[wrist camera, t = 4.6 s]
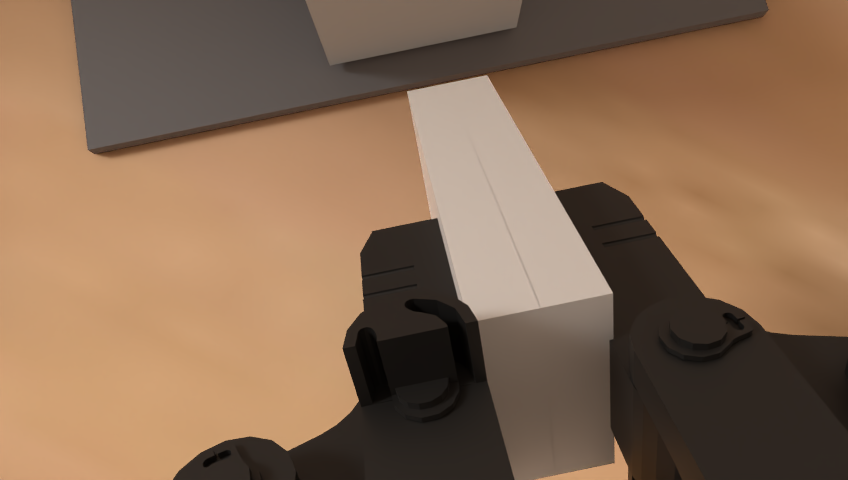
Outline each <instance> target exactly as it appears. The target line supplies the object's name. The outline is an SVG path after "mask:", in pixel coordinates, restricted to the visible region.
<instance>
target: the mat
mask: <svg viewBox="0 0 848 480" xmlns="http://www.w3.org/2000/svg"><path fill="white" fill-rule="evenodd" d="M71 4H72V13H73V22H74V31H75V40H76V49H77V58H78V67H79V75H80V84H81V93H82V102H83V111H84V120H85V129H86V138H87V147H88V150H89V151H90V152H92V153H94V154H97V153H101V152H106V151H111V150H116V149H121V148H126V147H131V146H135V145H140V144H145V143H150V142H155V141H160V140H165V139H169V138H174V137H179V136H184V135H189V134H194V133H199V132H203V131H208V130H213V129H218V128H223V127H228V126H233V125H238V124H242V123H247V122H252V121H257V120H262V119H267V118H272V117H276V116H281V115H286V114H291V113H296V112H301V111H306V110H310V109H315V108H320V107H325V106H330V105H335V104H340V103H345V102H349V101H354V100H359V99H364V98H369V97H374V96H379V95H383V94H388V93H393V92H398V91H403V90H408V89H413V88H417V87H422V86H427V85H432V84H437V83H442V82H447V81H452V80H456V79H461V78H466V77H471V76H476V75H481V74H486V73H490V72H495V71H500V70H505V69H510V68H515V67H520V66H524V65H529V64H534V63H539V62H544V61H549V60H554V59H558V58H563V57H568V56H573V55H578V54H583V53H588V52H593V51H597V50H602V49H607V48H612V47H617V46H622V45H627V44H631V43H636V42H641V41H646V40H651V39H656V38H661V37H665V36H670V35H675V34H680V33H685V32H690V31H695V30H700V29H704V28H709V27H714V26H719V25H724V24H729V23H734V22H738V21H743V20H748V19H753V18H758V17H763V16H764V15H765V14H766V12H767V11H768V10H769V9H768V6H767V3H766V0H522V4H521V9H520V14H519V18H518V23H517V27H516V28H511V29H506V30H501V31H496V32H492V33H487V34H482V35H477V36H472V37H467V38H462V39H457V40H453V41H448V42H443V43H438V44H433V45H428V46H423V47H418V48H414V49H409V50H404V51H399V52H394V53H389V54H384V55H379V56H374V57H370V58H365V59H360V60H355V61H350V62H345V63H340V64H335V65H331V66H330V64H329V62H328V59H327V56H326V54H325V51H324V48H323V46H322V43H321V41H320V38H319V35H318V33H317V30H316V27H315V25H314V22H313V19H312V17H311V14H310V11H309V9H308V6H307V3H306V1H305V0H71Z"/></svg>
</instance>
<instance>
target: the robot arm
mask: <svg viewBox="0 0 848 480" xmlns="http://www.w3.org/2000/svg"><path fill="white" fill-rule="evenodd" d="M407 93H408V99H409V104H410V109H411V114H412V120H413V125H414V130H415V136H416V141H417V146H418V152H419V157H420V162H421V167H422V173H423V178H424V183H425V189H426V194H427V199H428V205H429V210H430V215H431V219H430V220H425V221H420V222H415V223H411V224H406V225H401V226H396V227H391V228H386V229H381V230H376V231H372V233H371V235H370V237H369V239H368V240H367V242H366V244H365V246H364V248H363V249H362V251H361V253H360V256H361V272H362V279H363V280H362V287H363V297H364V300H363V303H364V312H362V313H361V314H360V315H359V316H358V317H357V318H356V320H355V321H354V322H353V323H352V325H351V326H350V327H349V328H348V330H347V333H346V337H345V341H344V345H343V352H344V355H345V358H346V361H347V364H348V367H349V371H350V374H351V377H352V380H353V383H354V386H355V389H356V392H357V396H358V399H359V402H358V403H357V405H356V406H355V407H354V409H353V410H352V411H351V413H350V414H348V415H347V416H346V417H345V418H344V419H343V420H342V421H341V422H340V423H338V424H337V425H336V426H334V427H333V428H331V429H329V430H328V431H326V432H324V433H323V434H321V435H319V436H317V437H315V438H313V439H311V440H309V441H307V442H305V443H303V444H301V445H299V446H297V447H295V448H293V449H291V450H289V451H286V450H285V449H283V448H282V447H280V446H279V445H278V444H276V443H275V442H274V441H272V440H267V439H261V438H256V437H245V438H239V439H233V440H228V441H224V442H222V443H220V444H218V445H216V446H214V447H212V448H210V449H207V450H205V451H203V452H201V453H200V454H199V455H197V456H196V457H195V458H194V459H193V460H191V461H190V462H189V463H188V464H187V465H185V466H184V467H183V468H182V469H181V470H179V472H178V473H177V474H176V476H175V477H174V479H173V480H534V479H539V478H543V477H548V476H553V475H558V474H563V473H568V472H573V471H577V470H582V469H587V468H592V467H597V466H602V465H606V464H611V463H614V436H615V439H616V441H617V443H618V445H619V447H620V450H621V452H622V454H623V456H624V459H625V461H626V463H627V465H628V480H848V337H836V336H806V335H788V334H779V333H771V332H767V331H765V330H764V329H763V327H762V326H761V325H760V324H759V323H758V322H757V321H755V320H754V319H753V318H752V317H751V316H749V315H748V314H747V313H746V312H745V311H743V310H742V309H739V308H737V307H735V306H732V305H730V304H728V303H725V302H723V301H721V300H716V299H710V298H705V296H704V295H703V294H702V292H701V291H700V290H699V288H698V287H697V286H696V284H695V283H694V282H693V280H692V279H691V278H690V276H689V275H688V274H687V272H686V271H685V270H684V269H683V267H682V266H681V265H680V263H679V262H678V261H677V259H676V258H675V257H674V255H673V254H672V253H671V251H670V250H669V249H668V247H667V246H666V245H665V244H664V242H663V241H662V240H661V238H660V237H657V236H656V232H655V230H654V229H653V228H652V226H651V225H650V224H649V222H648V221H647V220H644V217H643V215H642V213H641V212H640V211H639V209H638V208H637V207H636V205H635V204H634V203H633V201H632V200H631V199H630V197H629V196H627V195H625V194H624V193H622V192H620V191H618V190H616V189H614V188H612V187H610V186H609V185H607V184H605V183H603V182H600V183H595V184H590V185H585V186H580V187H575V188H570V189H565V190H561V191H556V192H554V190H553V188H552V187H551V185H550V183H549V181H548V180H547V178H546V176H545V174H544V173H543V171H542V169H541V167H540V166H539V164H538V162H537V161H536V159H535V157H534V155H533V154H532V152H531V150H530V148H529V147H528V145H527V143H526V141H525V140H524V138H523V136H522V135H521V133H520V131H519V129H518V128H517V126H516V124H515V122H514V121H513V119H512V117H511V115H510V114H509V112H508V110H507V109H506V107H505V105H504V103H503V102H502V100H501V98H500V96H499V95H498V93H497V91H496V90H495V88H494V86H493V84H492V83H491V81H490V79H489V77H488V76H487V75H485V76H480V77H476V78H471V79H466V80H461V81H456V82H451V83H446V84H441V85H436V86H431V87H426V88H421V89H416V90H411V91H407Z"/></svg>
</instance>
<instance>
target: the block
mask: <svg viewBox="0 0 848 480" xmlns="http://www.w3.org/2000/svg"><path fill="white" fill-rule="evenodd" d="M305 1H306V3H307V6H308V9H309V11H310V14H311V17H312V19H313V22H314V25H315V27H316V30H317V33H318V35H319V38H320V41H321V43H322V46H323V48H324V51H325V54H326V56H327V59H328V62H329V64H330V66H331V65H335V64H340V63H345V62H350V61H355V60H360V59H365V58H370V57H374V56H379V55H384V54H389V53H394V52H399V51H404V50H409V49H414V48H418V47H423V46H428V45H433V44H438V43H443V42H448V41H453V40H457V39H462V38H467V37H472V36H477V35H482V34H487V33H492V32H496V31H501V30H506V29H511V28H516V27H517V23H518V18H519V14H520V9H521V4H522V0H305Z"/></svg>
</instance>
